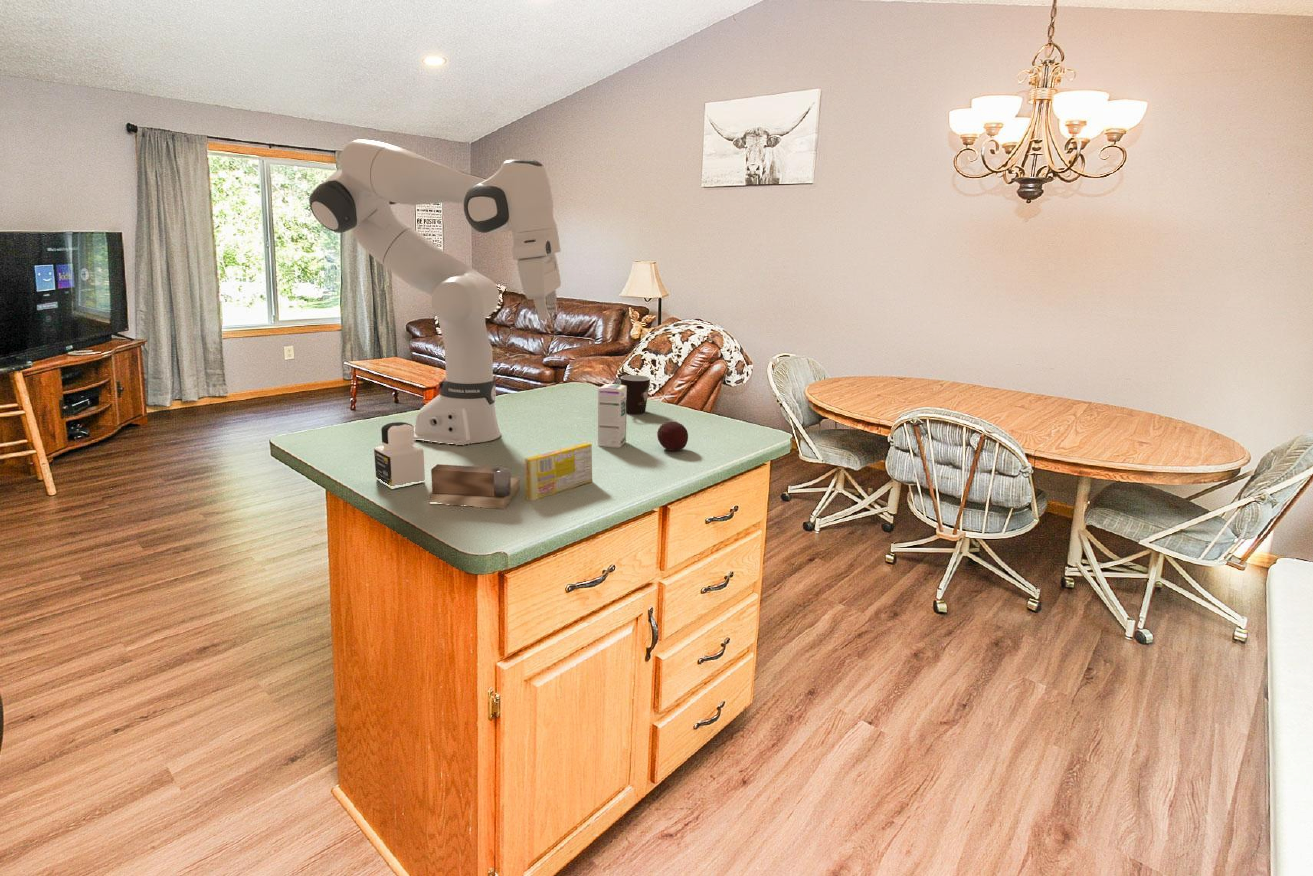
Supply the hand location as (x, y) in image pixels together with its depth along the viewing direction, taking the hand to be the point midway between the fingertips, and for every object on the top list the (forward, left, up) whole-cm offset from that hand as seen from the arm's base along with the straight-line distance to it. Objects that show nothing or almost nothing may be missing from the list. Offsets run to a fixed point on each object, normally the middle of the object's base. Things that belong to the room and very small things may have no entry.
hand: (548, 315), depth 148 cm
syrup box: (+10, +24, -33) cm, 43 cm away
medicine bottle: (-28, -12, -33) cm, 45 cm away
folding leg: (-10, -21, -31) cm, 39 cm away
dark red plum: (+25, +22, -33) cm, 47 cm away
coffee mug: (+11, +58, -33) cm, 68 cm away
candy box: (+5, -10, -34) cm, 35 cm away
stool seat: (-11, -17, -33) cm, 39 cm away
